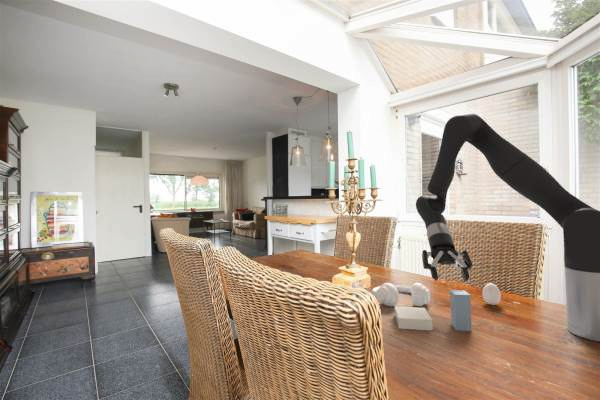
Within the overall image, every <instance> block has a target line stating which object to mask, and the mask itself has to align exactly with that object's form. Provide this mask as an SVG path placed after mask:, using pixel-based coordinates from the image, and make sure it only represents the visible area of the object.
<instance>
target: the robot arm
mask: <svg viewBox="0 0 600 400" xmlns="http://www.w3.org/2000/svg"><path fill="white" fill-rule="evenodd" d="M443 129H444V130H443V132H442V138H441V143H440V147H439V151H438V156H437V160H436V163H435V167H434V169H433V172H432V173H431V177H430V180H429V181H428V182H429V183H428V185H427V191H428V192H429V193H430V194H432V195H433V196H431V195H429V196H428V195H420V196H419V197H418V198H417V199H416V201H415V208H416V210H417V213H418V215H419V216H420V218H421V219H422V221H423V222H424V224H425V229H426V236H427V240H428V245H429V248H430V251H427V250H426V249H423V250H422V253H421V260H422V266H423V269H424V270H429V271H430V274H431V278H432V279H433V280H434V281H439V275H438V272H437V271H438V270H437V266H438V265H439V264H440V265H443V266H444V265H450V266H451V265H452V266H453V267H455V268H458V269H459V270H460V272H461V276H462V279H463V282H466V283H467V281H469V279H470V273H469V271H470V270H471V269H472V267H473V262H472V260H471V258H470V255H469V253H468V251H467V250H466V249H465V250H463V251H458V250H456V247H455V244H454V241H453V238H452V237H453V236H452V234H451V231H450V229H449V227H448V224H447V220H446V218H445V216H444V215H443V213H444V212H445V210H446V204H447V195H448V190H449V189H450V186H451V184H452V182H453V179H454V177H455V172H456V163H457V161H456V160H457V157H458V155H459V153H460V151H461V149H462V147H463V146H464V144H465V143H468V144H470V145H471V146H473V147H474V148H476V150H479V152H480V153H481V154H482V155H483V156H484V157H485V159H486V160H487V163H488V165H489V166H490V168H491V169H492V171H493V173H494V174H495V175H496V176H497V177H498V178H499V179H501V180H502V181H503V182H504V183H505V184H506V185H508V186H509V187H510V188H511V189H513V190H514V191H516V192H517V193H518V194H519V195H522V197H524V198H525V199H528V200H529V201H531V202H533V203H534V204H536V205H538V207H540V208H541V209H542V210H544V211H545V212H546V213H547V214H548V215H549V216H550V217H551V218H552V219H553V220H554V221H555V222H556V223H557V225H559V226H560V227H561V228H562V230H563V233H562V234H563V261H564V265H563V266H564V280H565V283H564V284H565V286H564V287H565V301H566V302H565V304H566V305H565V308H566V329H567V331H568V332H570V333H571V334H573V335H576V336H578V337H580V338H584V339H587V340H589V341H590V340H591V341H596V342H600V210H598V209H596V208H593V207H592V206H590V205H589V204H587V203H585V202H584V201H582V200H581V199H579V198H578V197H576V196H575V195H573V194H572V193H571V192H569V191H567V189H565V188H564V187H563V186H562V185H561V183H560V182H559V181H558V180H556V178H555V177H554V176H553V175H552V174H550V173H549V171H548V170H546V168H544V167H543V166H542V165H541V164H539V163H538V162H537V161H536V160H534V159H533V158H532V157H530V156H529V155H527V153H525V152H523V151H522V150H520V149H519V148H518V147H517V146H515V145H514V144H513V143H512V142H509V141H508V140H507V139H505V138H504V137H503V136H501V135H500V134H499V133H497V131H496V130H494V129H493V128H492V127H491V126H490V125H489V124H488V123H487V122H486V121H485V119H483V118H482V117H481V116H479V115H478V114H476V113H473V112H472V113H471V112H466V113H461V114H457V115H455V116H452V117H451V118H449V119H448V120H447V121H446V123H445V126H444V128H443ZM429 257H431V258H432V259H433V261H432V262H431V263H429ZM459 257H460V258H459ZM468 270H469V271H468Z"/></svg>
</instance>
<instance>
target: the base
mask: <svg viewBox="0 0 600 400" xmlns="http://www.w3.org/2000/svg"><path fill="white" fill-rule="evenodd" d="M394 317H395V320H396V323H397V327H398V329H399V330H400V329H402V330H419V331H433V319H432V317H431V316H430V315H429V312H428V311H427V309H426V307H418V306H415V307H414V306H413V307H412V306H396V305H395V306H394Z"/></svg>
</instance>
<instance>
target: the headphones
mask: <svg viewBox="0 0 600 400" xmlns="http://www.w3.org/2000/svg"><path fill="white" fill-rule="evenodd" d="M371 292H372V294H373V295H375V296H376V298H375V299H378V301H380V303H382V304H383V305H385V306H387V307H395V306H396V305H397V304H398V302H399V299H400V296H399V292H400V293H408V294H411V301H412V303H413V305H414V306H415V307H418V308H421V307H423V306H424V305H427V304H428V303H429V302H430V301H431V291H430V289H428V287H427V286H425V285H423V283H420V282H414V283H413V284H412V286H410V285H396V284H395V285H394V284H393V283H390V282H384V283H383V284H381V285H379V286H376V287H373V289H372V290H371ZM373 295H372V296H373Z"/></svg>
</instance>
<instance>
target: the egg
mask: <svg viewBox="0 0 600 400" xmlns="http://www.w3.org/2000/svg"><path fill="white" fill-rule="evenodd" d="M481 292H482V298H483V301H485V303H487V304H489V305H490V306H496V305H499V303H500V302H501V298H502V294H501V291H500V289H499V288H498V286H497V285H496V284H495V283H492V282H490V283H489V282H488V283H486V284H485V285H484V287H483V288H482V291H481Z"/></svg>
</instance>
